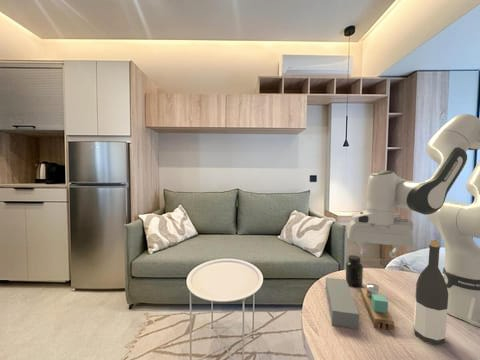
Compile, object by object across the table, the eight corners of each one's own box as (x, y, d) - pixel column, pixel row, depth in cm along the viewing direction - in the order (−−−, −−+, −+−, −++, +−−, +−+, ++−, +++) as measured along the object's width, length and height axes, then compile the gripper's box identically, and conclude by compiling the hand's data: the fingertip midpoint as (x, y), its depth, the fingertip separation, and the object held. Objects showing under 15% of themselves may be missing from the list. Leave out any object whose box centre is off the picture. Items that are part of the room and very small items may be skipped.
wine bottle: (421, 343, 74) (428, 245, 72) (407, 326, 82) (413, 236, 80) (451, 346, 73) (459, 246, 71) (434, 328, 81) (440, 237, 79)
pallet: (375, 298, 100) (376, 289, 99) (393, 332, 80) (394, 321, 80) (360, 296, 101) (360, 287, 101) (374, 329, 82) (374, 318, 81)
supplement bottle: (358, 280, 114) (360, 254, 113) (364, 287, 107) (366, 260, 106) (343, 279, 115) (344, 253, 114) (348, 287, 108) (349, 259, 107)
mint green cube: (383, 306, 88) (384, 295, 88) (387, 313, 84) (388, 301, 84) (371, 304, 89) (371, 294, 89) (374, 311, 85) (374, 300, 85)
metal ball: (376, 294, 96) (377, 284, 96) (379, 299, 92) (380, 289, 92) (365, 292, 97) (365, 282, 97) (367, 298, 93) (368, 287, 93)
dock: (345, 291, 104) (346, 279, 104) (358, 329, 81) (358, 314, 81) (325, 288, 106) (325, 277, 106) (332, 325, 83) (332, 310, 82)
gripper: (409, 217, 88) (407, 255, 90) (347, 213, 93) (345, 249, 94) (417, 221, 82) (414, 262, 83) (350, 217, 87) (348, 255, 88)
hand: (377, 255), depth 89 cm, fingers open, 8 cm apart
